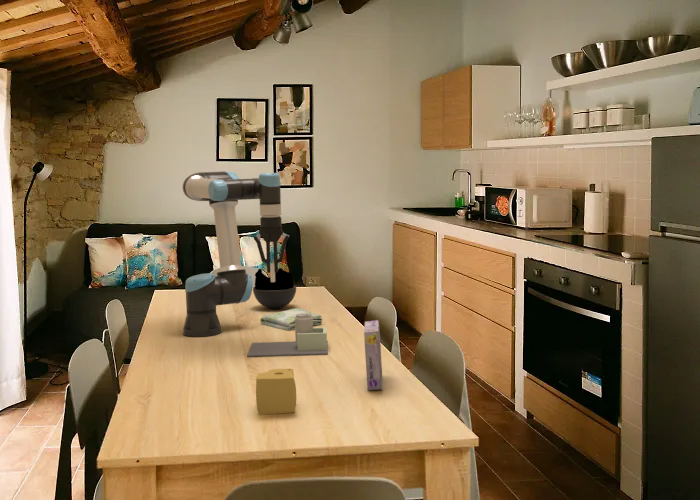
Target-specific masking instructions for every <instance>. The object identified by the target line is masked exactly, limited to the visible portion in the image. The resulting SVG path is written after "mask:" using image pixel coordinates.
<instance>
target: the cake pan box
mask: <svg viewBox="0 0 700 500" xmlns="http://www.w3.org/2000/svg"><path fill="white" fill-rule="evenodd" d="M363 331H364V332H363V333H364V334H363V335H364V337H363V338H364V351H365V352H364V353H365V370H366V373H365V374H366V386H367V390H368V391H383V368H382V367H383V366H382V364H383V362H382V348H381V346H382V345H381V334H380V333H381V332H380V321H379V319H378V320H369V321H364V329H363Z"/></svg>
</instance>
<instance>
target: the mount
mask: <svg viewBox="0 0 700 500" xmlns="http://www.w3.org/2000/svg"><path fill="white" fill-rule="evenodd" d="M327 329H328V328H327V326H324V327H323V326H322V327H313V333H297V346H296V340H294V341H293V340H292V341H270V342H269V341H265V342H264V341H263V342H252V343H251V344H250V347H249V350H248V352H247V355H246V357H247V358H263V357H264V358H266V357H267V358H270V357H295V356H296V357H299V356H301V357H302V356H303V357H304V356H327V355H328V352H329V351H328V349H329V348H328V345H329V343H328V337H327V336H328V335H327V334H328V333H327Z"/></svg>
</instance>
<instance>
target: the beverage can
mask: <svg viewBox="0 0 700 500" xmlns="http://www.w3.org/2000/svg"><path fill="white" fill-rule="evenodd" d="M311 315H312V314H309V313H300V314H296V317H295V330H294V332H295V341H296V346H297V333H313V328H314V326H313V317H312V316H311Z"/></svg>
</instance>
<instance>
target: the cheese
mask: <svg viewBox="0 0 700 500" xmlns="http://www.w3.org/2000/svg"><path fill="white" fill-rule="evenodd" d="M294 377H295V375H294V369H293V368H272V369H269V370H267V371H266V372H259V373H257V375H256V378H255V381H256V382H255V398H256V400H255V402H256V409H257V415H259V416H261V415H275V414H276V415H277V414H278V415H279V414H290V413H291V414H293V413H295V412H296V408H297V407H296V406H297V385H296V381H295V378H294Z"/></svg>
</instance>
